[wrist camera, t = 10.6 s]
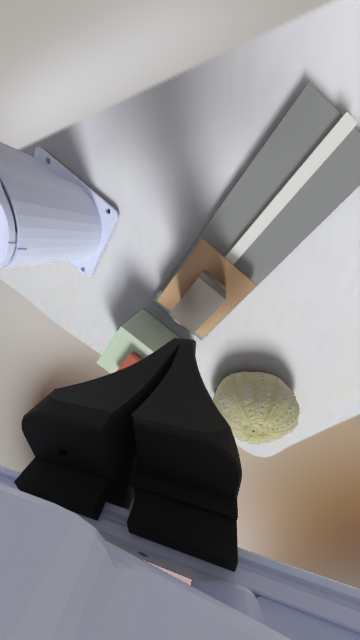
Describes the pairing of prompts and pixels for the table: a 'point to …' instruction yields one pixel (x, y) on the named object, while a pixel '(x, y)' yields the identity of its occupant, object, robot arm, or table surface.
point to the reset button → (130, 360)
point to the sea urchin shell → (257, 406)
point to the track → (285, 189)
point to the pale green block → (135, 340)
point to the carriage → (204, 289)
